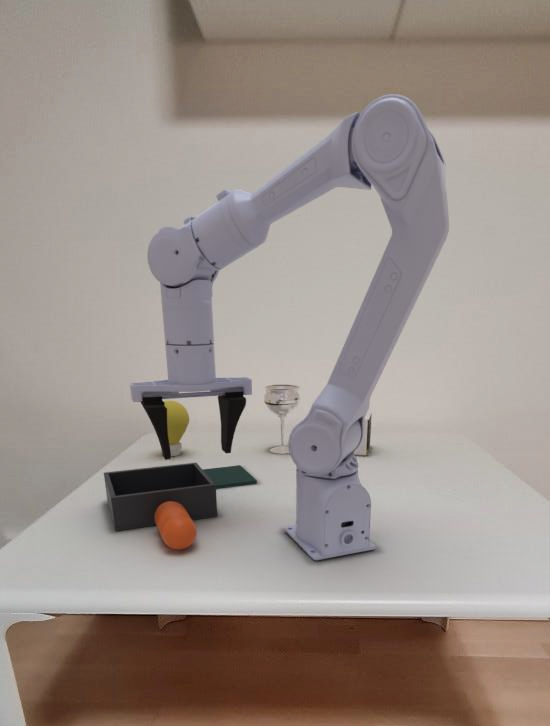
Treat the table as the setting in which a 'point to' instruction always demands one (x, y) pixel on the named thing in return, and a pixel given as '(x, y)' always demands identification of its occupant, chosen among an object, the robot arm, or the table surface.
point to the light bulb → (176, 425)
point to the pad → (230, 476)
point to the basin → (158, 493)
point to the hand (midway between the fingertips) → (197, 454)
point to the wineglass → (282, 406)
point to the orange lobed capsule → (175, 525)
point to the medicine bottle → (365, 436)
